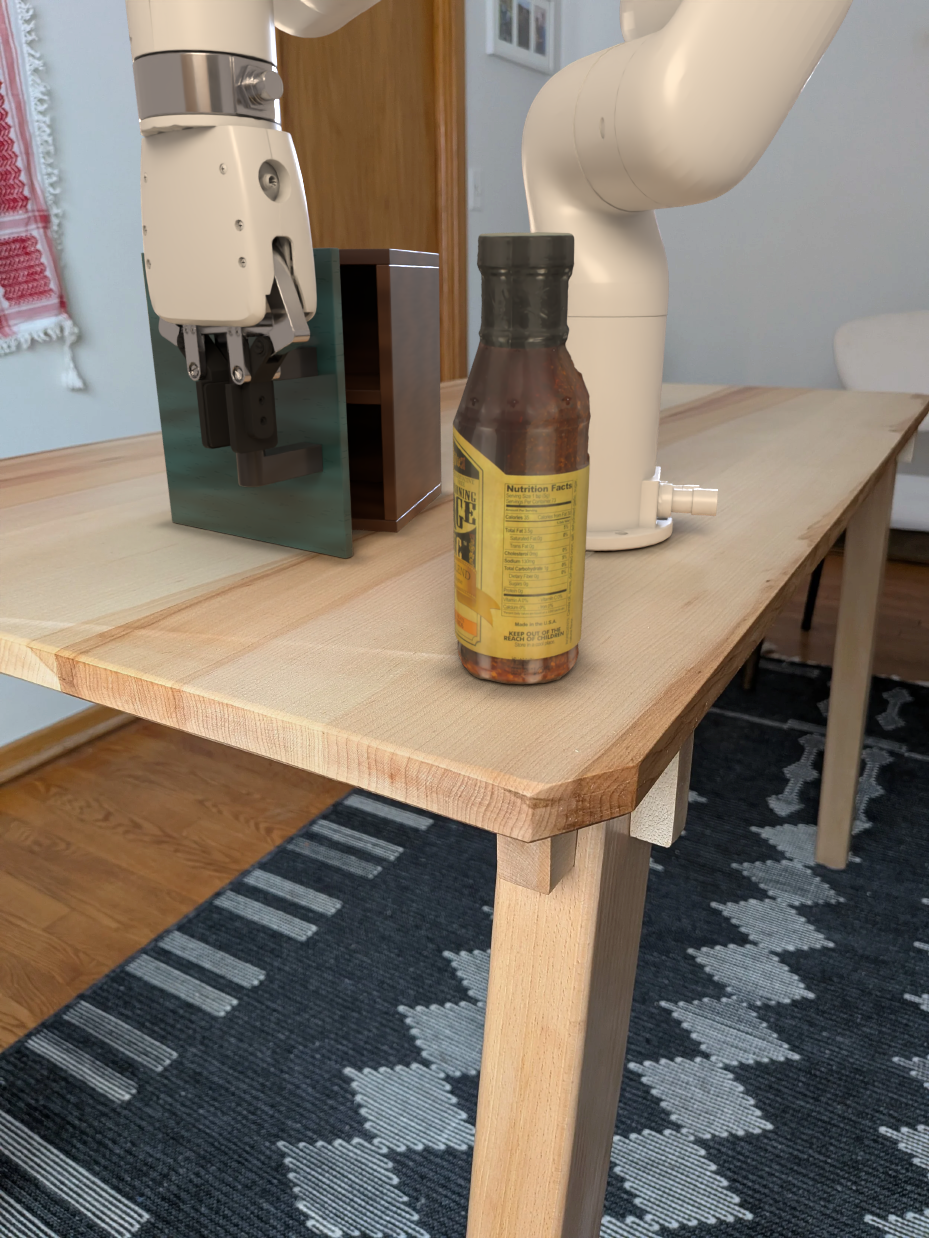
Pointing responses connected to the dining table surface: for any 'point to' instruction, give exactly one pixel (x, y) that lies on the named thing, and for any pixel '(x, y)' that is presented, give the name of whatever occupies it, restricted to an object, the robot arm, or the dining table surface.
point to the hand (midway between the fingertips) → (240, 445)
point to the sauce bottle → (521, 469)
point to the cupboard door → (277, 477)
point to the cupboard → (391, 384)
